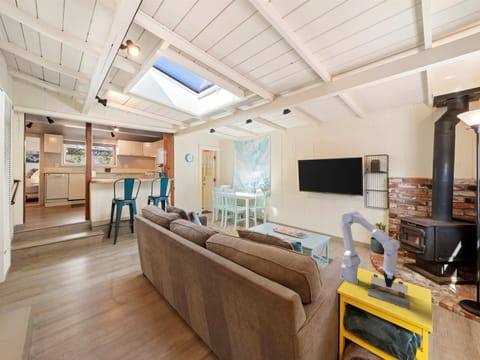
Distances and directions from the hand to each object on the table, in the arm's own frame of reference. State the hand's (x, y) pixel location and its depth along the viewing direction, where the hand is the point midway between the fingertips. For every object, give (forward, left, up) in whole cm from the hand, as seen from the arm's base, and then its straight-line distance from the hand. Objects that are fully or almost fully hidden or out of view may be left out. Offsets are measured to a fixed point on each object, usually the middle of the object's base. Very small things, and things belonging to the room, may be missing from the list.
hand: (388, 285), depth 110 cm
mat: (0, 0, -7) cm, 7 cm away
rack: (0, +9, -7) cm, 11 cm away
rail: (0, 0, -1) cm, 1 cm away
